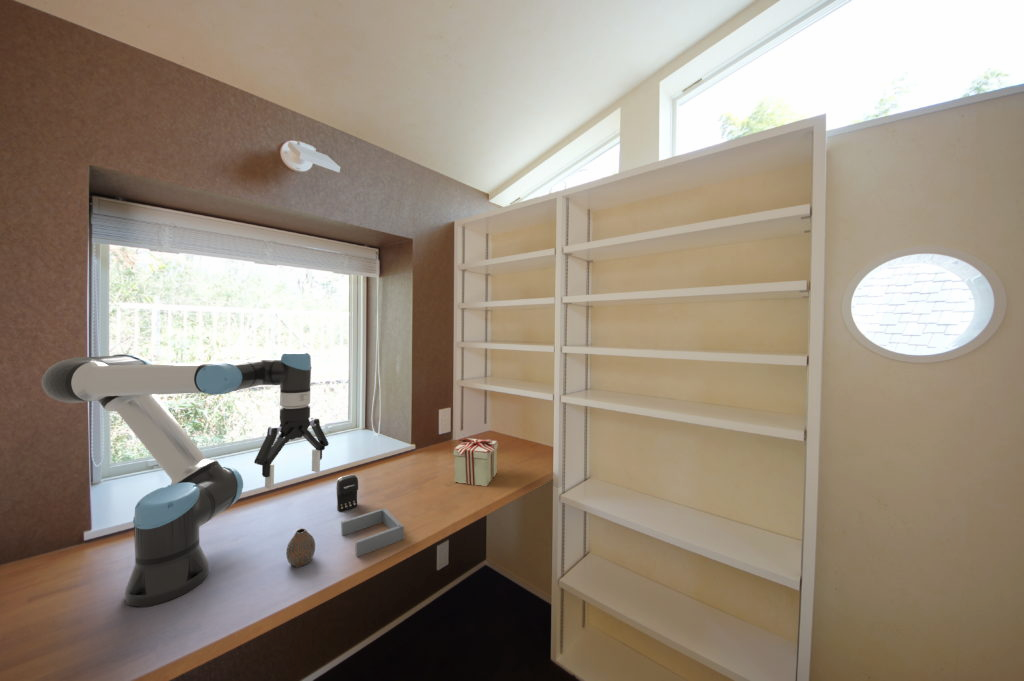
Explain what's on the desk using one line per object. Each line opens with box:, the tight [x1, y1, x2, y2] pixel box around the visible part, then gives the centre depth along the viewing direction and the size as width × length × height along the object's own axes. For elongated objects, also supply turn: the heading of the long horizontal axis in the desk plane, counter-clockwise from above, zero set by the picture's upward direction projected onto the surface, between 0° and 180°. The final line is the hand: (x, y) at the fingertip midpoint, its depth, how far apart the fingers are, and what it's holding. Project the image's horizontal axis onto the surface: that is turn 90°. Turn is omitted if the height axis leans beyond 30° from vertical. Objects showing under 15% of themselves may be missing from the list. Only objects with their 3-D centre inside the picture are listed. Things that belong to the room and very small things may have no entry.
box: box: [340, 507, 405, 558], centre depth 112 cm, size 14×15×4 cm
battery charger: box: [335, 474, 359, 512], centre depth 130 cm, size 7×4×11 cm, turn 130°
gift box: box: [453, 437, 499, 487], centre depth 155 cm, size 17×18×17 cm
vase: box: [285, 527, 316, 567], centre depth 100 cm, size 7×7×9 cm
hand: (293, 479), depth 105 cm, fingers open, 13 cm apart
